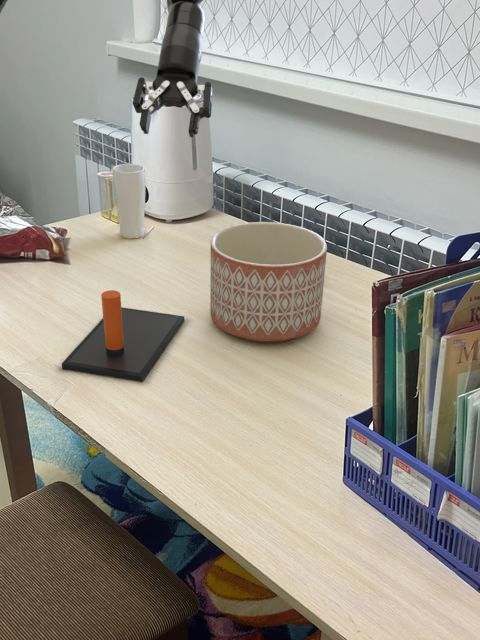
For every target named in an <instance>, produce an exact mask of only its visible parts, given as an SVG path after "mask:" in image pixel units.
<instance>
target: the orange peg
mask: <svg viewBox="0 0 480 640" xmlns="http://www.w3.org/2000/svg"><path fill="white" fill-rule="evenodd" d="M100 295H101V306H102V307H101V309H102V319H103V320H104V332H105V344H106V353H107V354H108V355H111V356H118V355H121V354H123V353H124V338H123V324H122V310H121V307H122V299H121V292H120V291H118V290H115V289H113V290H112V289H111V290H110V289H109V290H105V291H102V293H101V294H100Z"/></svg>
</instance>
